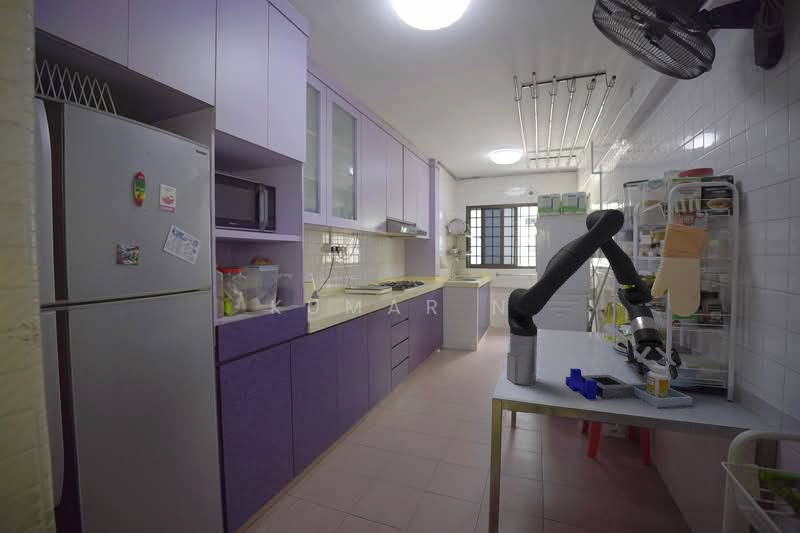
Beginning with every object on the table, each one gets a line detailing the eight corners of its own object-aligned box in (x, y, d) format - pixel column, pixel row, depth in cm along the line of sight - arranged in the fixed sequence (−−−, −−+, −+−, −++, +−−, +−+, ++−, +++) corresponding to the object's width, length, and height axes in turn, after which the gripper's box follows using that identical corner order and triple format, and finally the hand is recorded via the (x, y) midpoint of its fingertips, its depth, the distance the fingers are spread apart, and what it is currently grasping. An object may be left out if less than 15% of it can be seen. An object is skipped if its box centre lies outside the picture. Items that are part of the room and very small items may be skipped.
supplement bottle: (667, 396, 109) (669, 366, 108) (666, 401, 105) (668, 370, 104) (647, 391, 112) (648, 362, 112) (645, 396, 108) (647, 366, 108)
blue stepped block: (565, 384, 119) (566, 368, 119) (578, 385, 119) (579, 368, 119) (581, 399, 107) (582, 381, 107) (596, 400, 107) (597, 381, 107)
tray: (656, 408, 101) (657, 399, 101) (625, 391, 113) (625, 384, 113) (691, 406, 103) (692, 397, 103) (656, 390, 115) (657, 382, 115)
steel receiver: (602, 399, 107) (602, 388, 107) (579, 385, 118) (580, 375, 118) (633, 397, 109) (633, 386, 109) (608, 384, 120) (608, 374, 120)
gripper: (625, 325, 117) (636, 368, 107) (674, 328, 113) (690, 373, 103) (619, 336, 123) (629, 379, 112) (666, 340, 118) (681, 384, 108)
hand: (658, 376), depth 107 cm, fingers open, 8 cm apart
